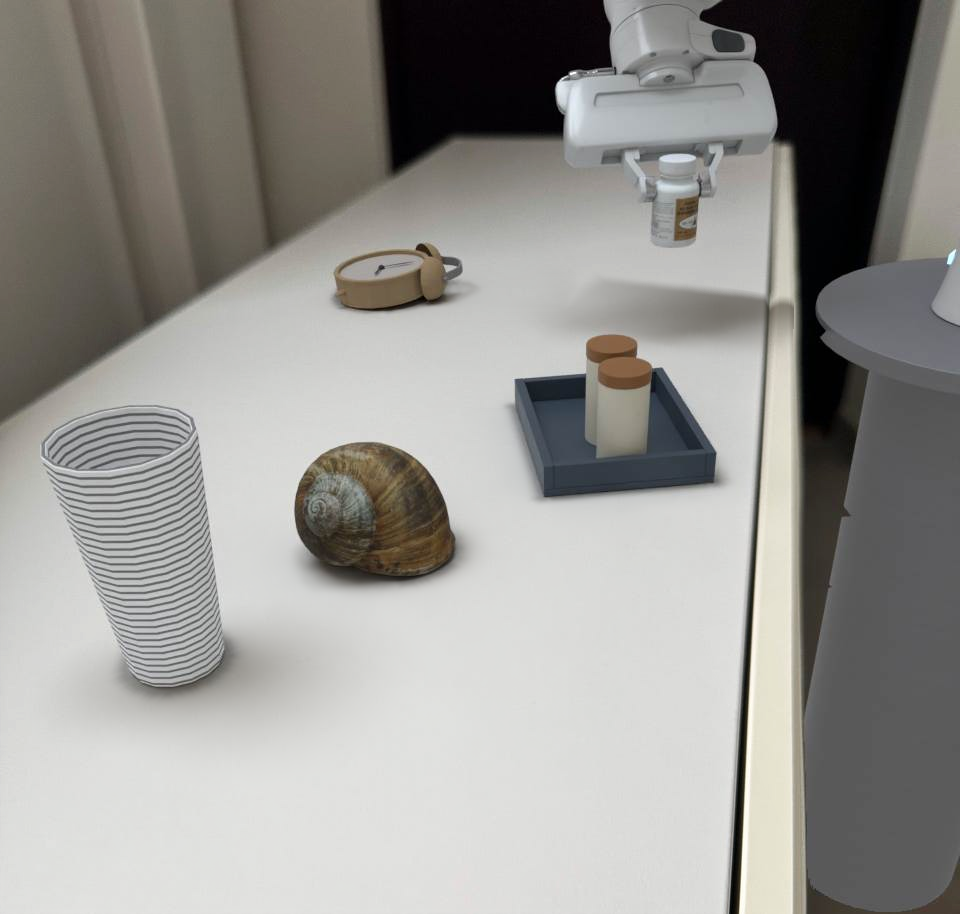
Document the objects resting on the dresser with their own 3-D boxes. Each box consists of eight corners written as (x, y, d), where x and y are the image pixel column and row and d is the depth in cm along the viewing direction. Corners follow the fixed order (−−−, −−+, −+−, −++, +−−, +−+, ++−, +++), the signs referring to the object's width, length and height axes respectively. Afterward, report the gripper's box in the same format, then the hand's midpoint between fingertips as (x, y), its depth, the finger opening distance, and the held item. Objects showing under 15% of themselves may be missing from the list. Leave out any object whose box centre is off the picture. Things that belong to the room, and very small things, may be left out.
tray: (660, 394, 97) (662, 367, 96) (713, 482, 83) (717, 452, 82) (515, 405, 97) (514, 378, 95) (543, 496, 82) (543, 466, 81)
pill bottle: (685, 251, 100) (691, 164, 96) (643, 246, 102) (646, 161, 98) (702, 239, 103) (709, 154, 99) (661, 234, 105) (665, 150, 101)
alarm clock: (330, 258, 126) (451, 226, 125) (342, 298, 129) (461, 267, 128) (331, 288, 117) (461, 253, 116) (343, 330, 120) (471, 297, 119)
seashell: (278, 575, 75) (260, 474, 70) (334, 512, 82) (320, 416, 77) (426, 598, 72) (417, 493, 67) (471, 530, 79) (466, 432, 74)
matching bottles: (627, 425, 91) (631, 332, 86) (651, 473, 84) (657, 374, 79) (580, 428, 91) (581, 336, 86) (600, 477, 83) (603, 379, 79)
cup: (94, 648, 68) (24, 427, 59) (219, 607, 72) (171, 392, 63) (129, 719, 62) (57, 486, 53) (264, 671, 66) (218, 443, 57)
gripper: (556, 49, 98) (573, 185, 96) (770, 34, 99) (792, 169, 97) (549, 94, 104) (565, 223, 102) (751, 80, 105) (771, 207, 103)
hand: (677, 196), depth 100 cm, fingers closed on pill bottle, 4 cm apart
